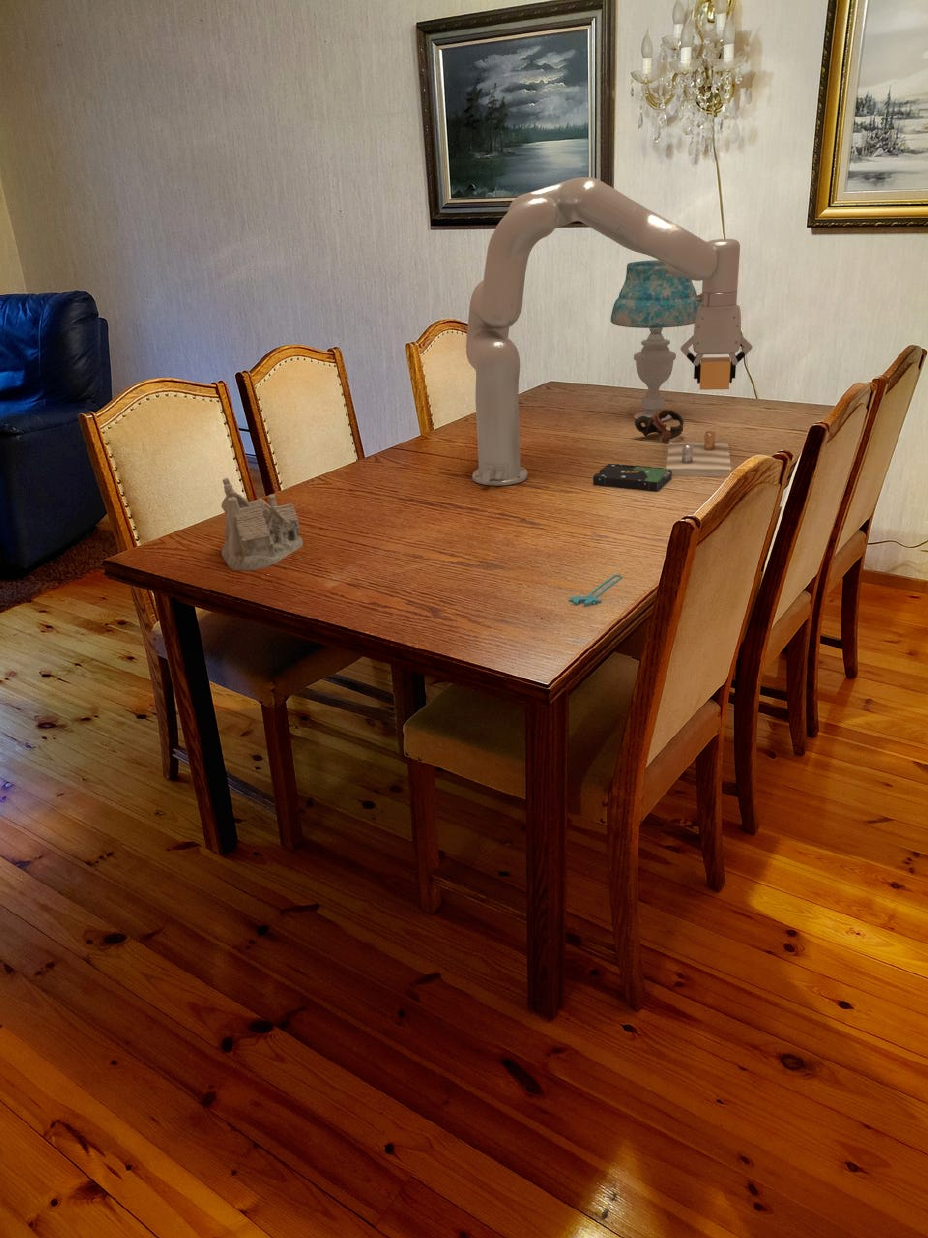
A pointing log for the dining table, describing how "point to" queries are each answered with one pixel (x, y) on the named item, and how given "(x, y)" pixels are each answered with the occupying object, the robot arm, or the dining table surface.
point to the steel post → (687, 453)
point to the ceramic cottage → (257, 531)
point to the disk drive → (632, 477)
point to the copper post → (709, 441)
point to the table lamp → (654, 322)
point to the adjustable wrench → (591, 598)
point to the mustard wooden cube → (714, 373)
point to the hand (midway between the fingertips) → (714, 381)
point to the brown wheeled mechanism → (660, 425)
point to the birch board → (699, 460)
